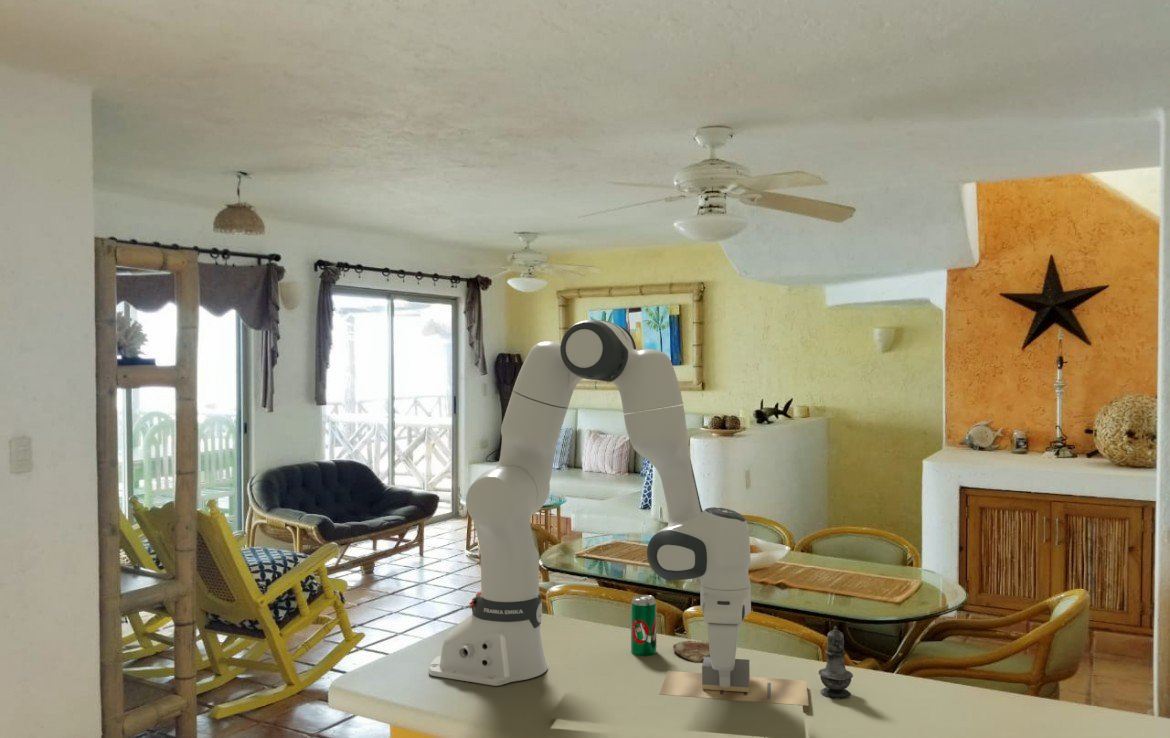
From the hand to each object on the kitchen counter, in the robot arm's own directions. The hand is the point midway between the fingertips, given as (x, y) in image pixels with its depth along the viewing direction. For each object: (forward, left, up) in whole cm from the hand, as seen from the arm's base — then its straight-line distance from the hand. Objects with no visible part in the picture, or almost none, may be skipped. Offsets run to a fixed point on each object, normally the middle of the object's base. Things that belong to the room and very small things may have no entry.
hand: (726, 679), depth 152 cm
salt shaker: (+19, +4, -3) cm, 20 cm away
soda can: (-17, +16, -3) cm, 24 cm away
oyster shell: (-7, +19, -3) cm, 20 cm away
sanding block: (0, 0, -1) cm, 1 cm away
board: (+1, 0, -3) cm, 3 cm away
